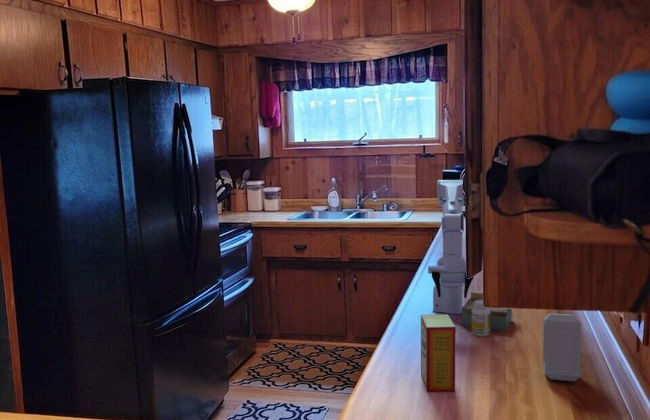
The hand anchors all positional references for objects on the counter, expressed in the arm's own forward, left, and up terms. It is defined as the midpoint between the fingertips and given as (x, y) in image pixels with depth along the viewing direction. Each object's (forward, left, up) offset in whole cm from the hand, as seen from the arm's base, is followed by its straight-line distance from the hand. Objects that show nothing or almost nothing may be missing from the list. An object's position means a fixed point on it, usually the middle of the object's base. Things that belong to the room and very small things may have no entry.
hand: (452, 296), depth 179 cm
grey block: (+31, -16, -10) cm, 37 cm away
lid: (+9, +8, -5) cm, 13 cm away
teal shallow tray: (+9, +8, -10) cm, 16 cm away
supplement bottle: (+9, -2, -10) cm, 14 cm away
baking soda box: (+7, -41, -10) cm, 43 cm away
